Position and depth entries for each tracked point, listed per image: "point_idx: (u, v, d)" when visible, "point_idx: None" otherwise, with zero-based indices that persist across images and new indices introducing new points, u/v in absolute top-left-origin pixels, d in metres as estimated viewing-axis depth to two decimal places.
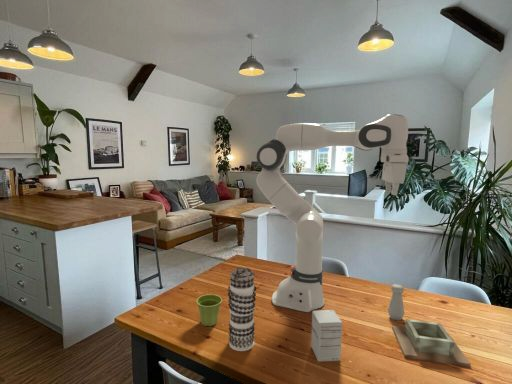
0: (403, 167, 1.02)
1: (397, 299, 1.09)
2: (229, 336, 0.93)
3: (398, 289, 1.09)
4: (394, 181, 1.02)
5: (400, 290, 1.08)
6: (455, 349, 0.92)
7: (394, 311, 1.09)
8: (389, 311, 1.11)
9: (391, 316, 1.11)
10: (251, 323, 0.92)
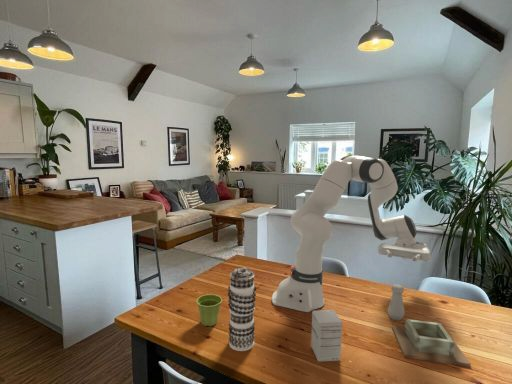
0: None
1: (397, 299, 1.09)
2: (229, 336, 0.93)
3: (398, 289, 1.09)
4: (429, 254, 1.19)
5: (400, 290, 1.08)
6: (455, 349, 0.92)
7: (394, 311, 1.09)
8: (389, 311, 1.11)
9: (391, 316, 1.11)
10: (251, 323, 0.92)
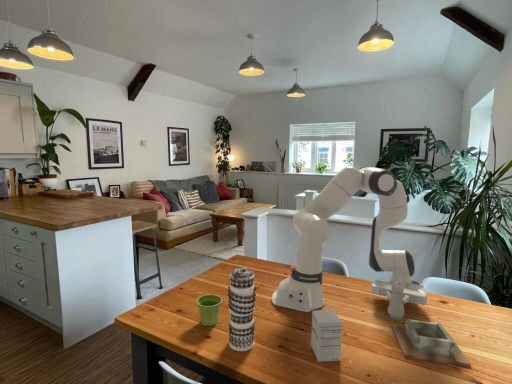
0: None
1: (397, 299, 1.09)
2: (229, 336, 0.93)
3: (398, 289, 1.09)
4: (426, 297, 1.10)
5: (400, 290, 1.08)
6: (455, 349, 0.92)
7: (394, 311, 1.09)
8: (389, 311, 1.11)
9: (391, 316, 1.11)
10: (251, 323, 0.92)
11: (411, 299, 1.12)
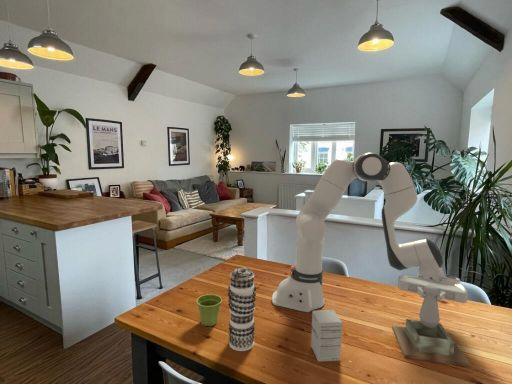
0: None
1: (431, 302, 0.92)
2: (229, 336, 0.93)
3: (431, 290, 0.91)
4: (466, 293, 0.92)
5: (434, 292, 0.91)
6: (455, 349, 0.92)
7: (427, 316, 0.92)
8: (421, 316, 0.94)
9: (423, 322, 0.94)
10: (251, 323, 0.92)
11: (447, 296, 0.95)
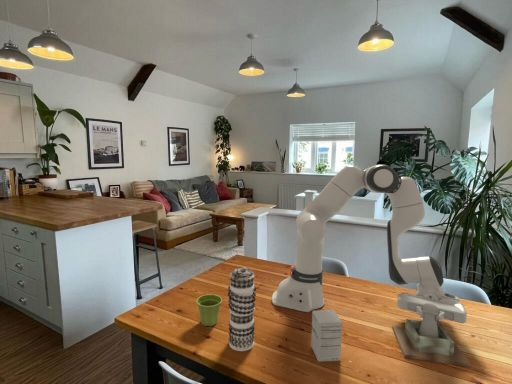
0: None
1: (430, 321, 0.92)
2: (229, 336, 0.93)
3: (431, 310, 0.92)
4: (465, 314, 0.93)
5: (433, 311, 0.92)
6: (455, 349, 0.92)
7: (426, 335, 0.93)
8: (420, 335, 0.94)
9: None
10: (251, 323, 0.92)
11: (446, 316, 0.95)
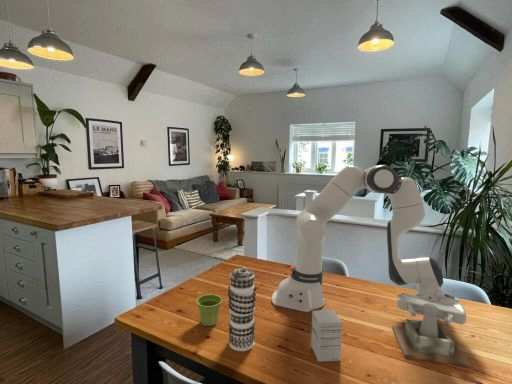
0: None
1: (430, 321, 0.92)
2: (229, 336, 0.93)
3: (431, 310, 0.92)
4: (465, 315, 0.93)
5: (433, 311, 0.92)
6: (455, 349, 0.92)
7: (426, 335, 0.93)
8: (420, 335, 0.94)
9: None
10: (251, 323, 0.92)
11: (446, 316, 0.95)
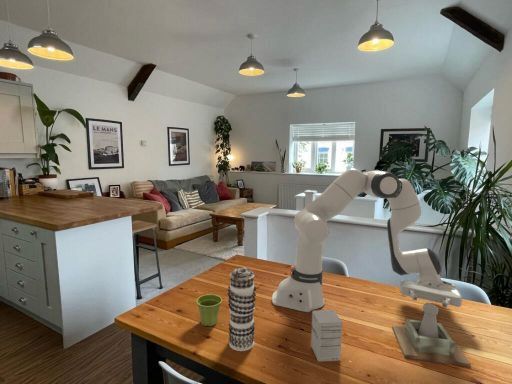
0: None
1: (430, 321, 0.92)
2: (229, 336, 0.93)
3: (431, 310, 0.92)
4: (461, 298, 1.04)
5: (433, 311, 0.92)
6: (455, 349, 0.92)
7: (426, 335, 0.93)
8: (420, 335, 0.94)
9: None
10: (251, 323, 0.92)
11: None
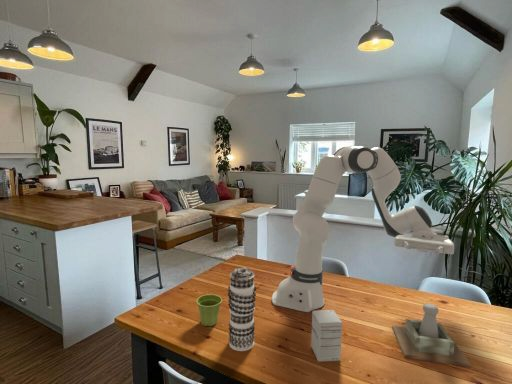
0: None
1: (430, 321, 0.92)
2: (229, 336, 0.93)
3: (431, 310, 0.92)
4: (453, 246, 1.07)
5: (433, 311, 0.92)
6: (455, 349, 0.92)
7: (426, 335, 0.93)
8: (420, 335, 0.94)
9: None
10: (251, 323, 0.92)
11: None
